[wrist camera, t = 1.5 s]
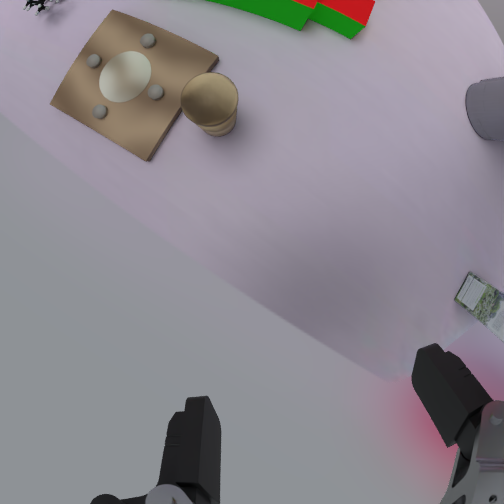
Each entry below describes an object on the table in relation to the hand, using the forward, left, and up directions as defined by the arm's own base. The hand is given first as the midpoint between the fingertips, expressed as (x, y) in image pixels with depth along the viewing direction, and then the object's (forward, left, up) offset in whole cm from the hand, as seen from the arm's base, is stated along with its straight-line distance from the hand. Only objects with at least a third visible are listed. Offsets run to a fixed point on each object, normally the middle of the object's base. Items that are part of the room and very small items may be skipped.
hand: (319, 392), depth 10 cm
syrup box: (-12, +36, -26) cm, 46 cm away
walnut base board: (-7, -23, -26) cm, 35 cm away
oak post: (-8, -11, -26) cm, 29 cm away
